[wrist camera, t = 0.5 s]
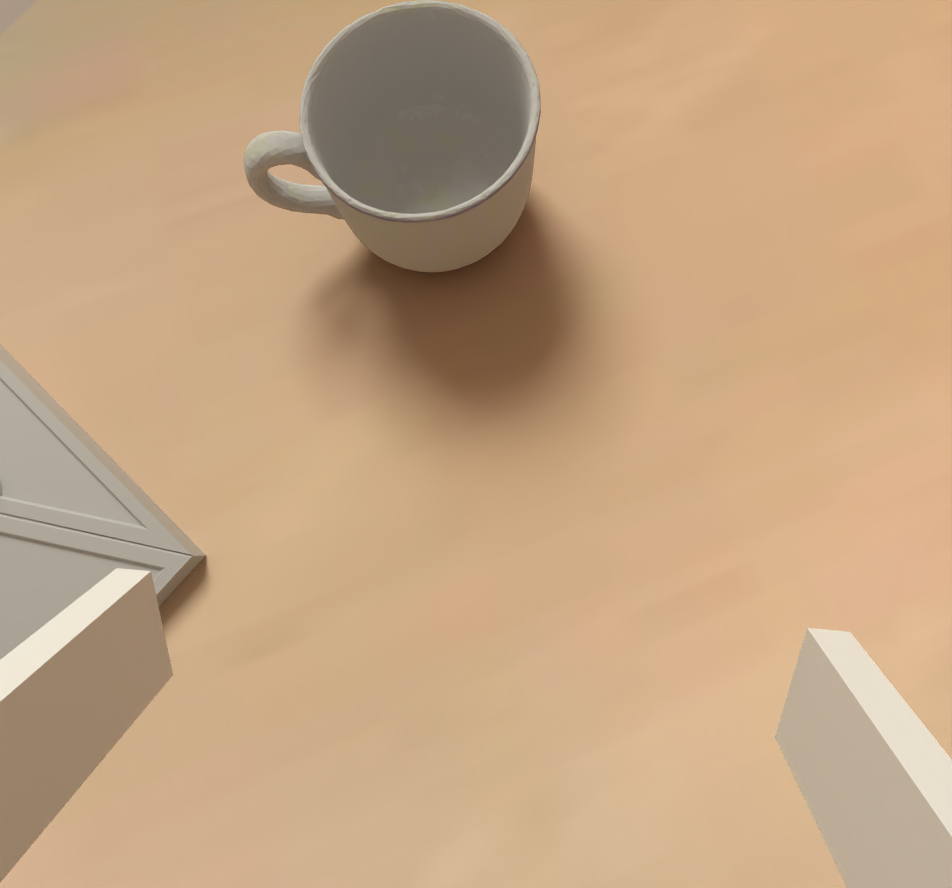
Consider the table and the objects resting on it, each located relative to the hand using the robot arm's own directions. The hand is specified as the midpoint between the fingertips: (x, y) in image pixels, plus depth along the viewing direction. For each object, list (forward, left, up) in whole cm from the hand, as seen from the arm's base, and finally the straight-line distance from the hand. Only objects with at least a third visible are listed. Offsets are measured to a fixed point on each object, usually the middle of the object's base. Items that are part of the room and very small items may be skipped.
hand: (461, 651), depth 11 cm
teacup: (+22, +3, -16) cm, 27 cm away
